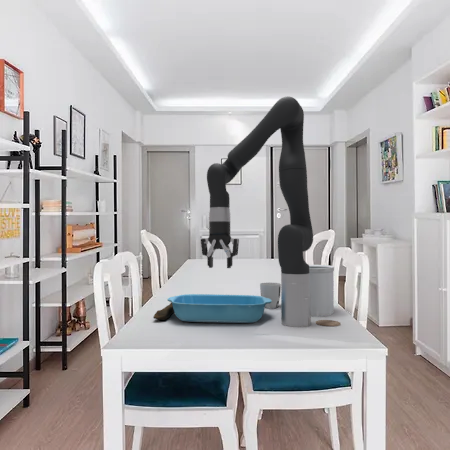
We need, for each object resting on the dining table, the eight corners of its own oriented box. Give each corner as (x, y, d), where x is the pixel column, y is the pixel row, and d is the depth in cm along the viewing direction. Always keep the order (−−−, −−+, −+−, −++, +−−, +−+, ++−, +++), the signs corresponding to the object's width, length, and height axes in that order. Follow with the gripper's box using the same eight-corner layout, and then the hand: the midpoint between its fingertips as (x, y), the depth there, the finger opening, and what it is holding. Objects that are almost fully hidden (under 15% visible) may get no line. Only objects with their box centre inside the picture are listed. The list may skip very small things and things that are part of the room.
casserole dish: (269, 312, 160) (269, 293, 160) (273, 325, 137) (273, 303, 137) (173, 311, 161) (173, 293, 161) (161, 324, 139) (161, 303, 139)
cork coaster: (341, 322, 141) (341, 320, 141) (339, 327, 133) (339, 325, 133) (317, 320, 144) (317, 319, 144) (313, 325, 136) (313, 324, 136)
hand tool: (171, 300, 162) (182, 300, 161) (171, 310, 162) (183, 310, 161) (151, 309, 144) (164, 309, 143) (151, 321, 144) (164, 321, 143)
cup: (282, 311, 160) (282, 285, 160) (260, 311, 160) (260, 285, 160) (279, 307, 168) (279, 282, 168) (259, 307, 168) (259, 282, 168)
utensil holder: (302, 318, 147) (302, 268, 147) (287, 310, 162) (287, 264, 162) (341, 316, 150) (341, 267, 150) (323, 309, 165) (323, 264, 165)
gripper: (242, 220, 150) (242, 267, 150) (205, 221, 155) (205, 266, 155) (235, 220, 143) (235, 269, 143) (196, 220, 148) (196, 268, 148)
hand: (219, 267), depth 149 cm, fingers open, 6 cm apart
